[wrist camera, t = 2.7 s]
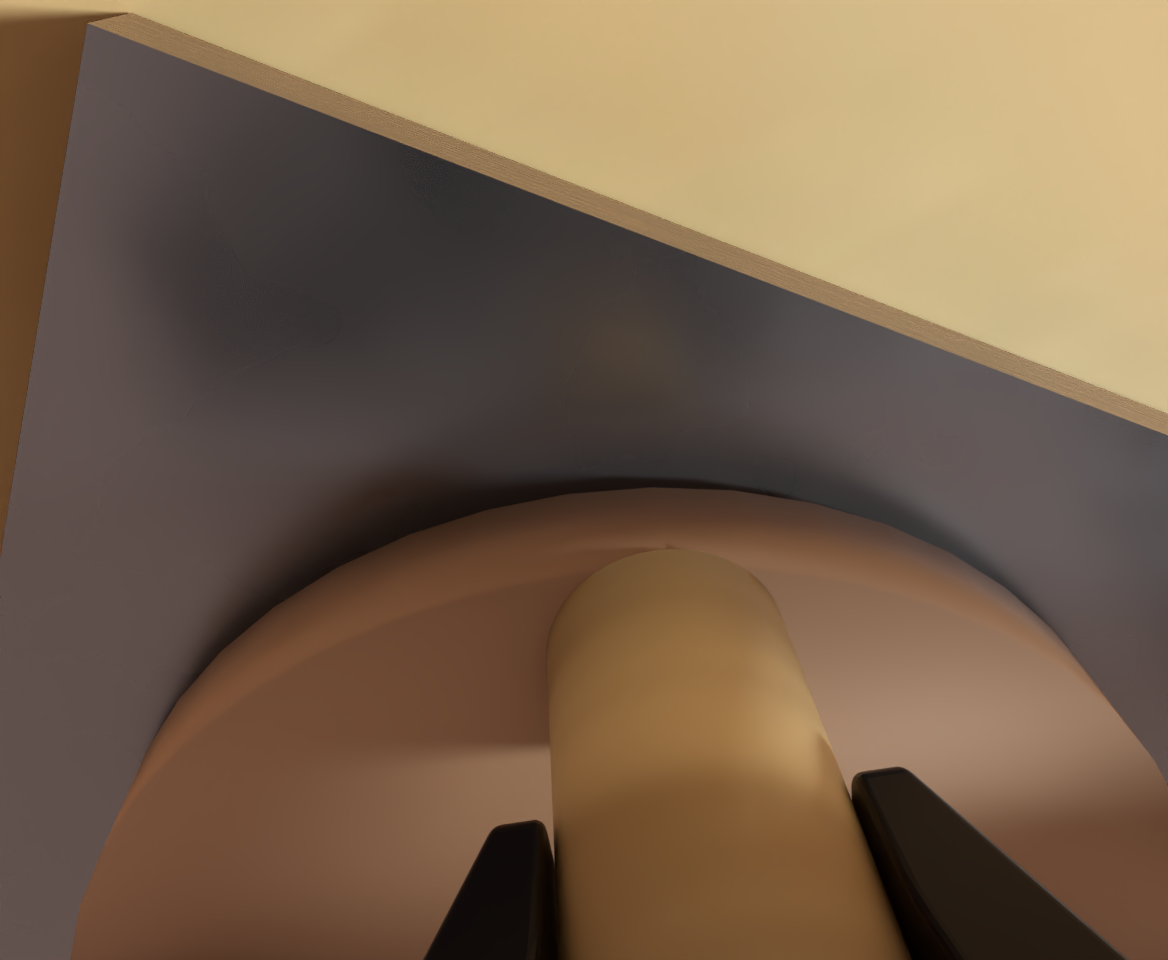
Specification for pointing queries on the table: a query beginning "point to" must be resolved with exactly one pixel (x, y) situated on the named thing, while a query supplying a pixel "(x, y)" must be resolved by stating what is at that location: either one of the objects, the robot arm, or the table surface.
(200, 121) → the level stand
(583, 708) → the cam dial
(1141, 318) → the table surface
